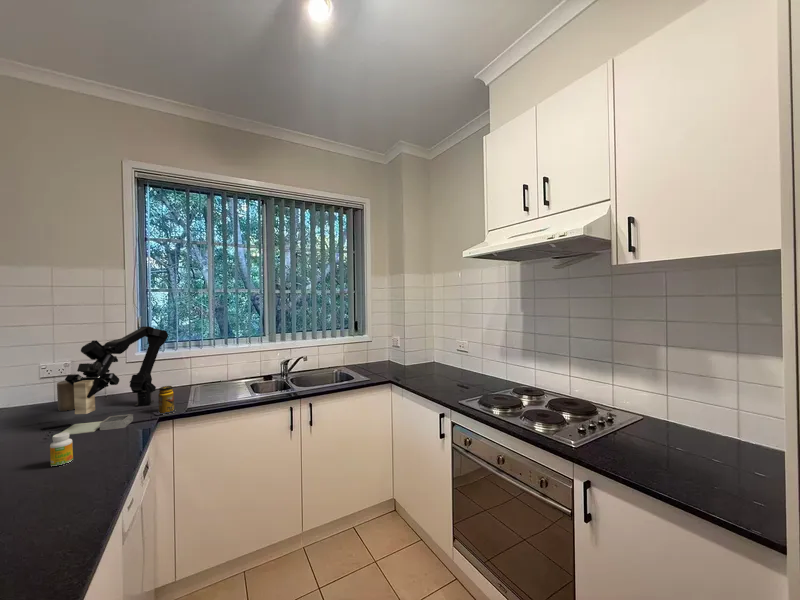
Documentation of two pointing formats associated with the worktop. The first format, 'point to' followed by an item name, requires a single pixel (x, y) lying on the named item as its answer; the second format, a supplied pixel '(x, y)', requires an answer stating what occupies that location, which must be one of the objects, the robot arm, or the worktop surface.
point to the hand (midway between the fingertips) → (81, 397)
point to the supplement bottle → (61, 449)
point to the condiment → (166, 399)
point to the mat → (83, 428)
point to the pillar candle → (65, 396)
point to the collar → (116, 422)
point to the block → (83, 397)
